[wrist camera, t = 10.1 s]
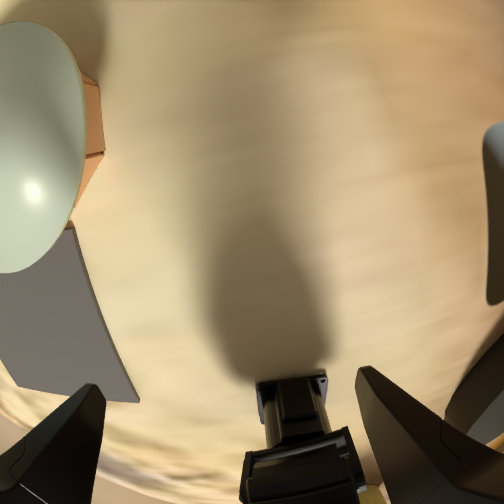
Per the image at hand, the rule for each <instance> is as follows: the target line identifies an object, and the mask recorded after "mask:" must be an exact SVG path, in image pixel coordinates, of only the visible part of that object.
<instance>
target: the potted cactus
mask: <svg viewBox="0 0 504 504" xmlns="http://www.w3.org/2000/svg"><path fill="white" fill-rule="evenodd" d="M366 486H367V491H366V492H363V493H359V494H358V496H359V500H360V504H387V503H386V501H385V499H384V497H383V495H382V493H381V492H380V490H379V488H378V487H377V486H376V485H366Z"/></svg>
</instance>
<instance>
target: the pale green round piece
mask: <svg viewBox="0 0 504 504" xmlns="http://www.w3.org/2000/svg"><path fill="white" fill-rule="evenodd" d="M87 131H88V123H87V104H86V97H85V89H84V85H83V81H82V77H81V73H80V70H79V67H78V65H77V62H76V60H75V57H74V55H73V54H72V52H71V50H70V49H69V47H68V45H67V44H66V43H65V42H64V41H63V39H62V38H61V37H60V36H59V35H58V34H56V33H55V32H54V31H52V30H51V29H49V28H47V27H44V26H42V25H40V24H37V23H34V22H28V21H16V22H11V23H7V24H4V25H1V26H0V273H13V272H17V271H21V270H23V269H25V268H27V267H29V266H31V265H32V264H33V263H35V262H36V261H38V260H39V259H40V258H41V257H43V256H44V255H45V254H46V253H47V252H48V251H49V250H50V249H51V248H52V247H53V245H54V244H55V242H56V241H57V240H58V238H59V237H60V236H61V234H62V232H63V230H64V228H65V226H66V225H67V223H68V221H69V218H70V216H71V213H72V211H73V209H74V206H75V203H76V200H77V196H78V193H79V190H80V186H81V181H82V176H83V172H84V166H85V158H86V150H87Z"/></svg>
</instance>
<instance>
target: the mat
mask: <svg viewBox="0 0 504 504" xmlns="http://www.w3.org/2000/svg"><path fill="white" fill-rule="evenodd" d="M0 359H1V361H2V363H3V364H4V366H5V368H6V369H7V371H8V372H9V374H10V375H11V377H12V378H13V380H14V381H15V383H16V384H17V386H19V387H23V388H28V389H32V390H37V391H42V392H48V393H53V394H59V395H65V396H72V395H73V394H74V393H75V392H76V391H78V390H79V389H80V388H81V387H82V386H83V385H85V384H86V383H93V384H97V385H98V387H99V388H100V390H101V392H102V393H103V395H104V397H105V399H106V401H116V402H130V403H139V402H140V398H139V396H138V394H137V392H136V390H135V388H134V386H133V384H132V382H131V380H130V378H129V376H128V374H127V372H126V370H125V368H124V366H123V364H122V361H121V359H120V357H119V355H118V352H117V350H116V348H115V346H114V343H113V341H112V339H111V336H110V334H109V331H108V329H107V326H106V324H105V321H104V319H103V316H102V313H101V311H100V308H99V305H98V303H97V300H96V297H95V294H94V291H93V288H92V285H91V282H90V279H89V276H88V273H87V270H86V267H85V263H84V260H83V257H82V253H81V250H80V246H79V242H78V239H77V235H76V231H75V227H72V228H66V229H64V230H63V232H62V234H61V236H60V237H59V238H58V240H57V241H56V242H55V244H54V245H53V247H52V248H51V249H50V250H49V251H48V252H47V253H46V254H45V255H44V256H43V257H41V258H40V259H39V260H38V261H36V262H35V263H33V264H32V265H31V266H29V267H27V268H25V269H23V270H21V271H17V272H13V273H0Z"/></svg>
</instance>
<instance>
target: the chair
mask: <svg viewBox="0 0 504 504" xmlns="http://www.w3.org/2000/svg"><path fill="white" fill-rule="evenodd" d="M444 420H445V421H446V422H448V423H449V424H450V425H452V426H453V427H455V428H456V429H458V430H459V431H461V432H462V433H464V434H466V435H468V436H469V437H471V438H473V439H475V440H476V441H478V442H480V443H482V444H484V445H486V444H487V443H489V442H490V441H492V440H494V439H495V438H497V437H498V436H500V435H501V434H502V433H503V432H504V333H503V335H502V336H501V337H500V338H499V339H498V340H497V341H496V342H495V343H494V344H493V345H492V346H491V347H490V348H489V349H488V350H487V351H486V352H485V354H484V355H483V356H482V357H481V359H480V360H479V361H478V362H477V364H476V365H475V366H474V367H473V368H472V369H471V371H470V372H469V373H468V374H467V376H466V377H465V379H464V380H463V381H462V383H461V384H460V386H459V387H458V389H457V390H456V391H455V393H454V394H453V396H452V398H451V400H450V402H449V404H448V406H447V408H446V410H445V418H444Z"/></svg>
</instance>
